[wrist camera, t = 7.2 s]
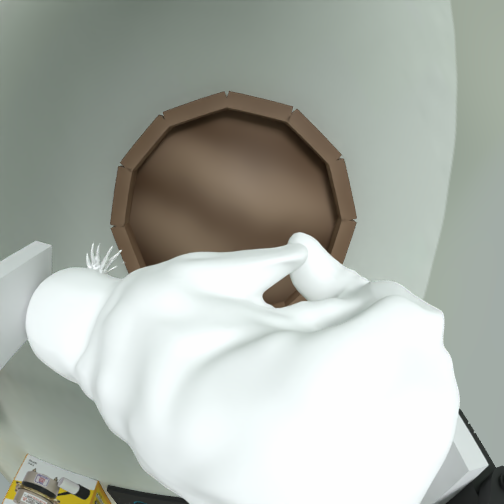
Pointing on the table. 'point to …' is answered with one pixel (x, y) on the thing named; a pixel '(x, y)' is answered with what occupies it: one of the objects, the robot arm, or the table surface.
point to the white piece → (257, 374)
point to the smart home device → (141, 497)
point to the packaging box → (52, 486)
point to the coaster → (231, 185)
